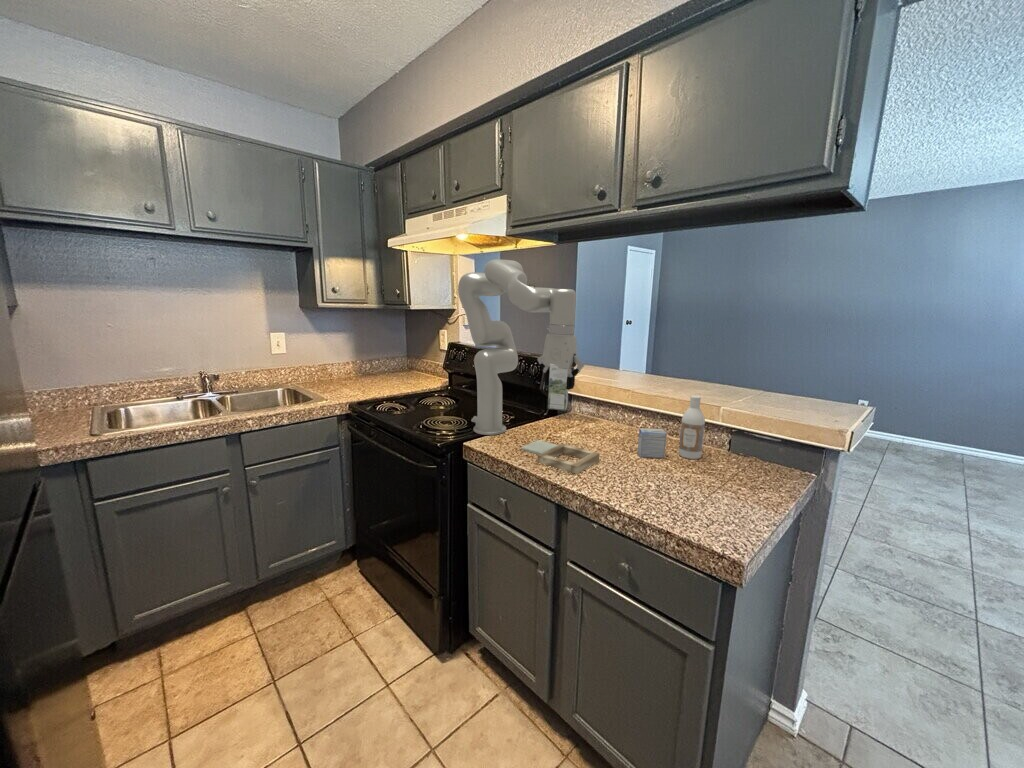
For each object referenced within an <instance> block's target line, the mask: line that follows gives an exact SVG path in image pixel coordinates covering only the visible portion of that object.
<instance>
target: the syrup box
mask: <svg viewBox="0 0 1024 768" xmlns="http://www.w3.org/2000/svg"><path fill="white" fill-rule="evenodd" d="M567 377H569V375H568V369H561V368H558V366H556V365H554V364H550V374H549V385H548V399H547V401H548V402H547V403H548V404H547V409H548V410H555V411H566V410H567V407H568V402H569V401H568V400H569V390H567V389H566V388H567Z"/></svg>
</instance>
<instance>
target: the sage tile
mask: <svg viewBox="0 0 1024 768" xmlns="http://www.w3.org/2000/svg"><path fill="white" fill-rule="evenodd" d="M558 445H559V444H555V443H552V442H548V441H544V440H540V439H537V440H535V441H533V442H530V443H528V444H526V445H524V446H521V447H520V450H521V451H524V450H525V452H527V451H528V453H531V452H532V453H531V454H534V455H538V454H541V453H543V452H545V451H547V450H549V449H551V448H553V447H556V446H558Z"/></svg>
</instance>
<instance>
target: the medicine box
mask: <svg viewBox="0 0 1024 768" xmlns="http://www.w3.org/2000/svg"><path fill="white" fill-rule="evenodd" d="M667 435H668V434H667V432H666V431H665V430H664V429H663V428H648V427H647V428H642V427H641V428H638V439H637V441H638V442H637V454H638V456H639V457H640V458H657V459H658V458H659V459H665V457H666V456H665V455H666V445H667Z"/></svg>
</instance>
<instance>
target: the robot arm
mask: <svg viewBox="0 0 1024 768" xmlns="http://www.w3.org/2000/svg"><path fill="white" fill-rule="evenodd" d="M527 284H528V277H527V275H526V273H525V272H524V268H523V266H522V265H521V263H519V262H518V261H516V260H513V259H512V260H510V259H500V258H499V259H498V258H497V259H496V258H495V259H491V260H489V261H488V262H487V263H485V265H484V269H483V272H477V271H476V272H468V273H465V274H463V275H462V276H461V277H460V279H459V281H458V284H457V294H458V298H459V301H460V304H461V306H462V308H463V310H464V313H465V315H466V320H467V323H468V327H469V332H470V335H471V338H472V342H473V344H475V346H477V347H493V348H485V349H481V350H479V351H478V352H477V353H476V354H475V356H474V359H473V364H474V369H475V374H476V375H475V376H476V390H477V392H476V393H477V400H476V402H477V404H476V405H477V410H476V411H477V413H476V414H477V415H474V416H473V417H472V418H471V422H472V423H474V424H475V425H474V426H473V432H475V434H478V435H483V436H495V435H501V434H504V433H505V432H506V431H507V426H506V425H504V424H503V383H502V381H501V379H500V378H499V375H498V374H501V373H508V372H513V371H514V370H516V369H517V367H518V365H519V355H518V351H517V347H516V344H515V341H514V336H513V333H512V329H511V327H510V326H509V324H507V323H506V322H505V321H503V320H492V319H491V317H490V313H489V309H488V307H487V305H486V304H485V303H484V301H482V299H481V298H480V297H498V296H501V295H503V294H505V293H506V295H507V297H508V299H509V302H510V303H511V304H513V305H514V306H515V307H517V308H519V309H520V310H522V311H524V312H527V313H549V325H546V327H545V328H546V330H547V331H548V333H546V335H545V339H544V344H543V352H542V354H541V355H540V356H539V357H538V358H537V359H536V360H537V362H538V364H539V366H540V368H541V370H542V372H543V373H544V376H543V378H544V380H543V382H544V386H549V374H550V364H554V365H556V366H558V368H561V369H568V375H569V377H567V388H566V389H567V390H568V391H569V390H572V389H574V387H575V383H576V382H575V381H576V376H577V375H578V374H579V373H580V372H581V371H582V370H583V368H584V367H585V364H584V362H582V361H581V360H580V359H579V357H578V344H577V337H576V335H575V322H576V321H575V320H576V318H575V317H576V304H577V303H576V302H577V301H576V300H577V293H576V291H575V290H574V289H571V288H553V287H538V286H537V287H536V286H535V287H531V286H529V285H527ZM494 346H496V347H494ZM575 367H576V368H575Z"/></svg>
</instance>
